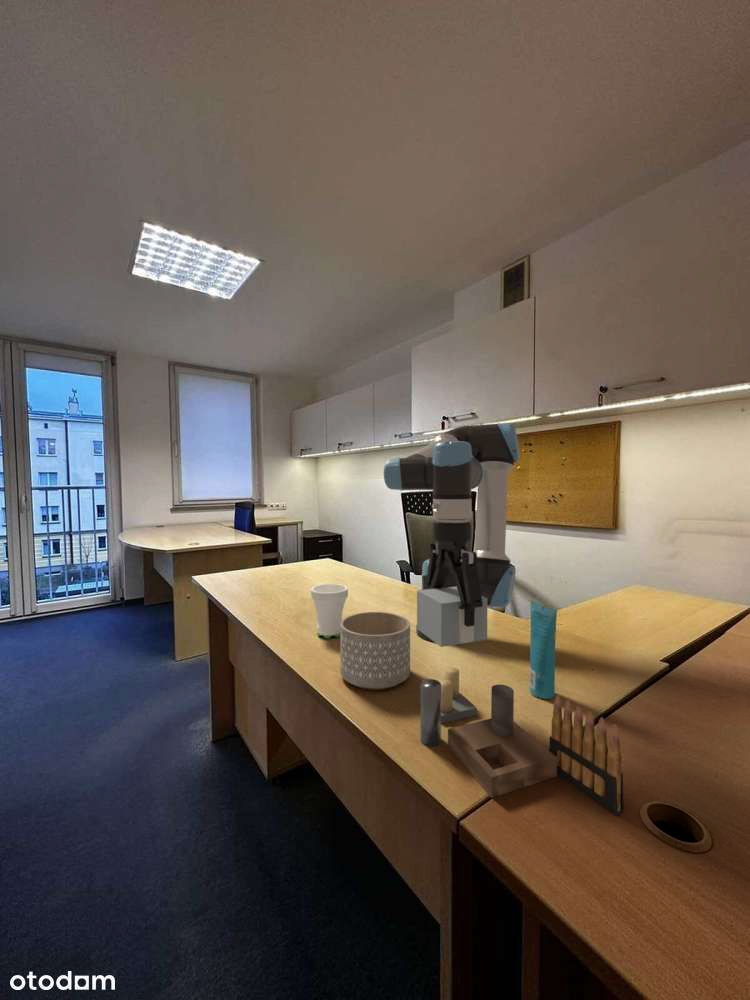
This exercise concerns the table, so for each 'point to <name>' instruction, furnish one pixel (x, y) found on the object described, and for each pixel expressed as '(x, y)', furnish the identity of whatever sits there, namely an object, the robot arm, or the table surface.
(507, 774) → the socket board
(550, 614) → the tube
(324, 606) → the cup
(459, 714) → the board
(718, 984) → the table surface
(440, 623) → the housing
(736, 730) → the table surface
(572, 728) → the ammunition clip
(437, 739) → the peg
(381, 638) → the planter
